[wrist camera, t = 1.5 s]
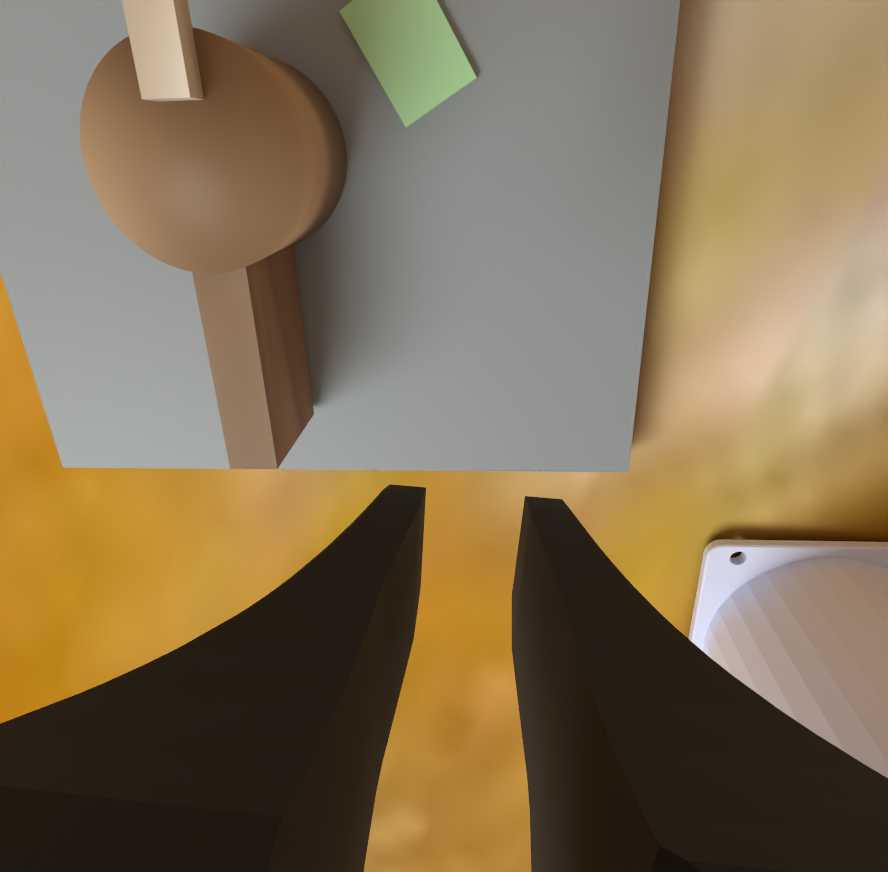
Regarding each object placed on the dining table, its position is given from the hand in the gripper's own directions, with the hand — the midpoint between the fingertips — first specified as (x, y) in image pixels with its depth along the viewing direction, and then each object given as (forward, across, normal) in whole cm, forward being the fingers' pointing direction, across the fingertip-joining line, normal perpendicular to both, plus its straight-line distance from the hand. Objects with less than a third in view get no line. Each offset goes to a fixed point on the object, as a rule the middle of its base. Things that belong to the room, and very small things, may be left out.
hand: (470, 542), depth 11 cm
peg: (+8, +6, -4) cm, 11 cm away
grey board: (+9, +5, -5) cm, 12 cm away
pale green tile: (+8, +2, -8) cm, 12 cm away
